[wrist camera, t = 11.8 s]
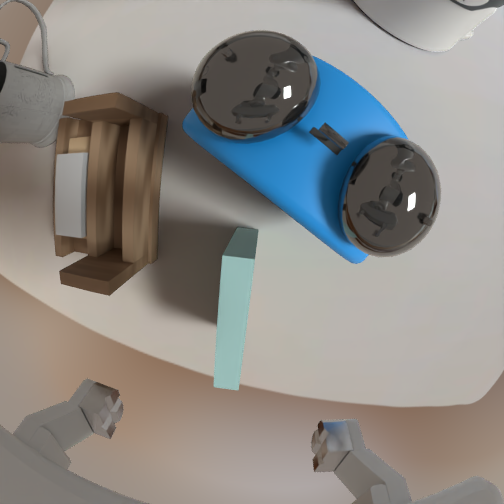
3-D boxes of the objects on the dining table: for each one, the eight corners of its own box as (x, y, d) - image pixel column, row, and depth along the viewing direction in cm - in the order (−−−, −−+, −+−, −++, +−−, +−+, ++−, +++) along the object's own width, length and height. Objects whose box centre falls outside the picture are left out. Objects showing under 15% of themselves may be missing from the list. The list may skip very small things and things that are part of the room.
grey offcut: (67, 154, 19) (57, 154, 17) (94, 153, 19) (83, 152, 17) (66, 230, 21) (55, 234, 19) (91, 233, 21) (81, 238, 19)
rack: (80, 122, 21) (22, 112, 13) (168, 116, 21) (122, 91, 13) (75, 246, 25) (22, 272, 16) (157, 258, 24) (113, 296, 16)
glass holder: (18, 139, 21) (-76, 143, 7) (62, 34, 18) (-18, -3, 3) (57, 155, 22) (-57, 163, 8) (110, 35, 18) (22, -24, 4)
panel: (237, 227, 23) (222, 255, 15) (258, 229, 23) (254, 259, 15) (227, 328, 26) (213, 386, 18) (246, 330, 26) (238, 390, 18)
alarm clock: (206, 142, 21) (115, 96, 7) (252, 87, 20) (232, -26, 6) (327, 236, 23) (408, 325, 9) (371, 183, 22) (496, 203, 7)
